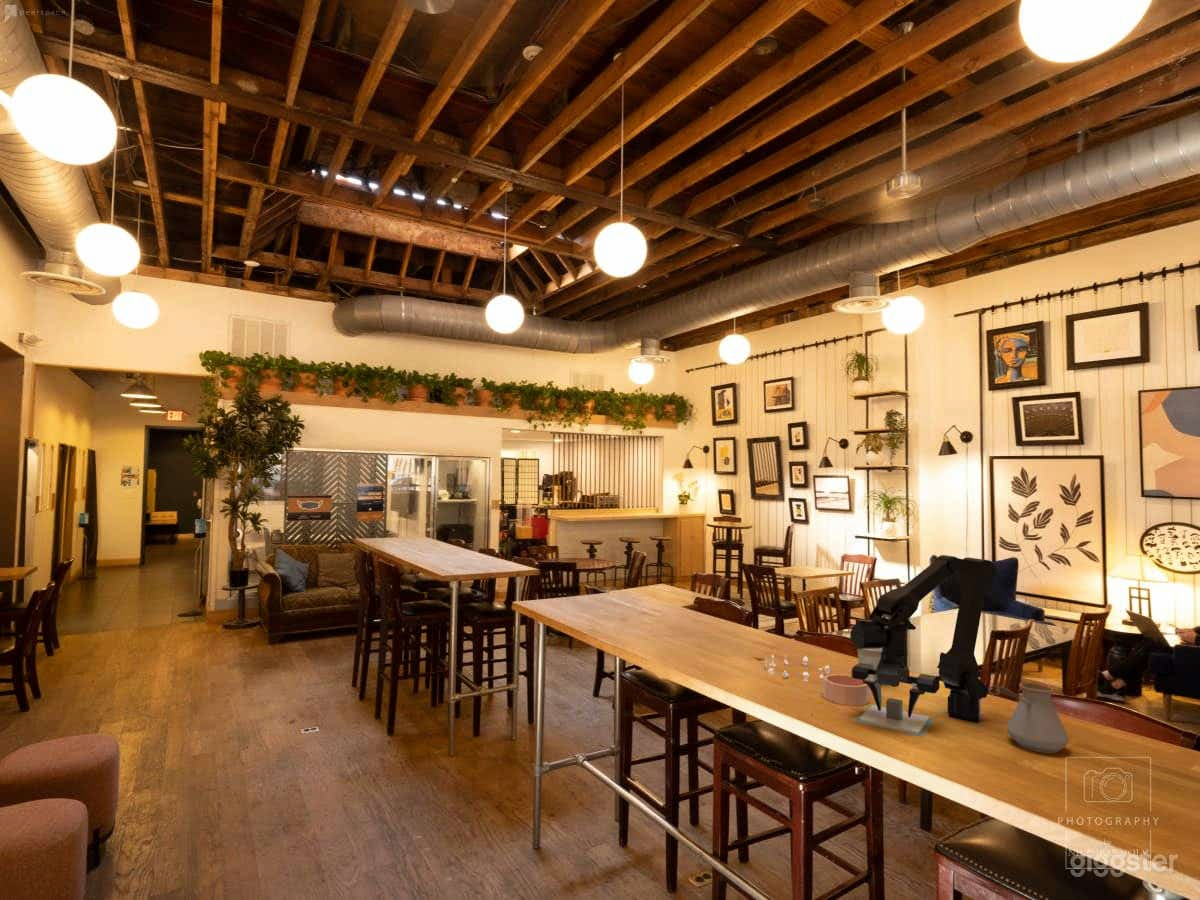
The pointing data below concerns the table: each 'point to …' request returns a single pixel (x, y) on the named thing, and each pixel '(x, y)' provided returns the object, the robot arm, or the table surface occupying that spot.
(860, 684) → the pink round tub
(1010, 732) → the coffee pot
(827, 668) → the game piece set
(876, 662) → the coffee cup
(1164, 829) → the table surface
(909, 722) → the lid
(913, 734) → the mat
